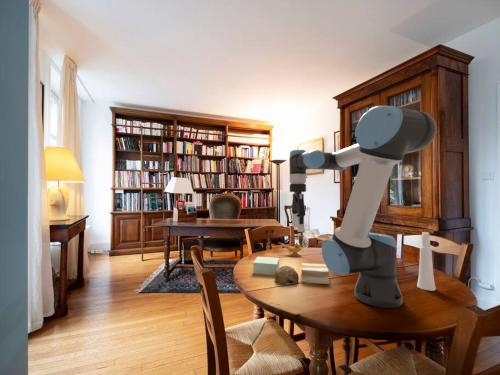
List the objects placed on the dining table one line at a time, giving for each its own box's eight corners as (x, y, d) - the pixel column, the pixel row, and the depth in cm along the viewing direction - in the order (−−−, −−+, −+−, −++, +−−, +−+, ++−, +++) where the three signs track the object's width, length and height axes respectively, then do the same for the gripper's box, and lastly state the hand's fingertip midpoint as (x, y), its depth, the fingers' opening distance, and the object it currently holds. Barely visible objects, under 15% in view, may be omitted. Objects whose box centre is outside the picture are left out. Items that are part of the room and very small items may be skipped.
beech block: (328, 284, 100) (328, 271, 100) (301, 281, 103) (301, 270, 103) (326, 275, 111) (326, 264, 111) (301, 273, 113) (301, 262, 114)
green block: (276, 275, 111) (276, 264, 111) (253, 273, 113) (253, 262, 113) (279, 267, 122) (279, 257, 122) (257, 266, 124) (257, 256, 124)
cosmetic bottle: (419, 283, 101) (418, 230, 102) (437, 288, 97) (436, 232, 97) (415, 287, 97) (414, 232, 98) (433, 292, 93) (433, 234, 93)
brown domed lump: (278, 293, 100) (281, 278, 97) (270, 275, 109) (272, 260, 106) (299, 290, 103) (303, 276, 99) (290, 273, 112) (293, 259, 109)
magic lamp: (279, 252, 154) (279, 234, 154) (308, 254, 148) (308, 236, 148) (276, 254, 147) (276, 236, 148) (307, 257, 142) (307, 238, 142)
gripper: (312, 182, 101) (312, 233, 100) (300, 184, 126) (300, 225, 125) (294, 182, 101) (294, 233, 101) (285, 184, 126) (285, 225, 125)
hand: (297, 229), depth 113 cm, fingers open, 13 cm apart
